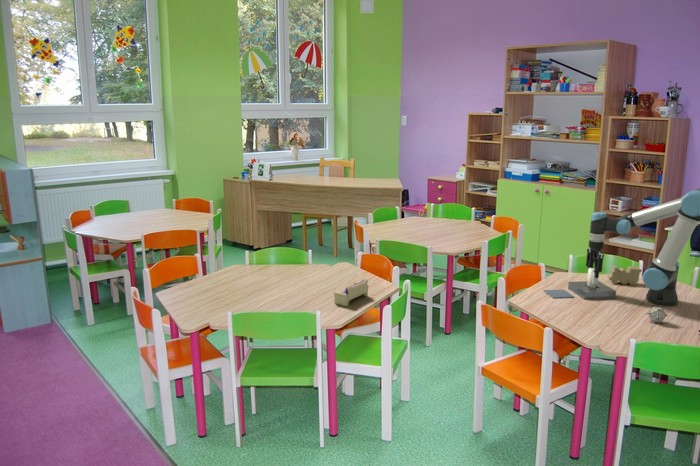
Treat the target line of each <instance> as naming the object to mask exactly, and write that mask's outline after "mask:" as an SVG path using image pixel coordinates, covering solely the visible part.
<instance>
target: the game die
mask: <svg viewBox="0 0 700 466" xmlns="http://www.w3.org/2000/svg"><path fill="white" fill-rule="evenodd" d="M664 308H665V307H664V306H662V307H657V306H653V305H651V308H650V310H649V312H647V313H646V315H648V317H649V319H650V323H652V322H653V323H661V325H663V324H664V323H663V322H664V320H665V319H666V317H668V316H669V315H668V314H666V312H665V310H664Z"/></svg>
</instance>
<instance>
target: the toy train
mask: <svg viewBox="0 0 700 466" xmlns="http://www.w3.org/2000/svg"><path fill="white" fill-rule="evenodd" d="M609 271H610V272H609V273H608V274H607V275H606V278H607V279H608V281H610V282H611V283H612V284H613V285H618V283H621V284H622V285H627V284H629V285H630V286H636V285H637V284H638V283H639V280H640V273H641V272H642V269H641V268H640V267H639V266H633V265H632V266H631V265H630V266H629V265H628V266H627V268H626V269H624V268H623V267H617V265H615V264H613V265H612V267H611V269H610V270H609Z"/></svg>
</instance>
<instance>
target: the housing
mask: <svg viewBox="0 0 700 466" xmlns="http://www.w3.org/2000/svg"><path fill="white" fill-rule="evenodd" d="M587 281H588V280H587ZM587 281H582V280H581V281H568V282H567V283H568V284H567V289H568V290H570V291H571V292H572V293H574V294H576V295H577V296H578V297H579V298H581V299H583V300H596V299H597V300H602V299H604V300H605V299H616V296H617V291H616V290H615V289H614V288H611V287H610V286H608V285H606V284H604V283H603V282H601V281H599V280H598V283H597V288H588V287H587Z"/></svg>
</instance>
